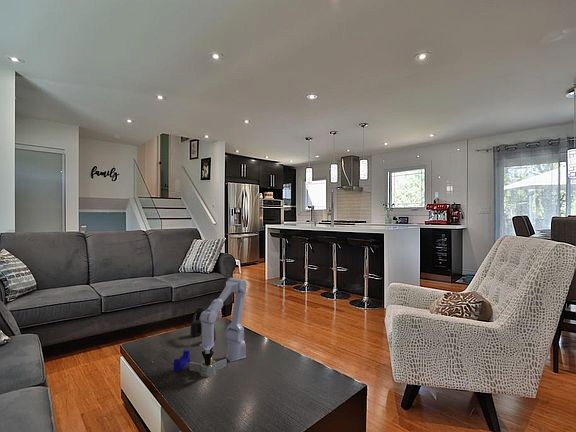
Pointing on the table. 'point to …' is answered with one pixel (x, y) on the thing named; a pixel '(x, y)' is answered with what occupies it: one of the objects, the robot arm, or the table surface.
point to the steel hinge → (208, 367)
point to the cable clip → (182, 361)
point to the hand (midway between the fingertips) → (208, 361)
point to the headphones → (198, 325)
